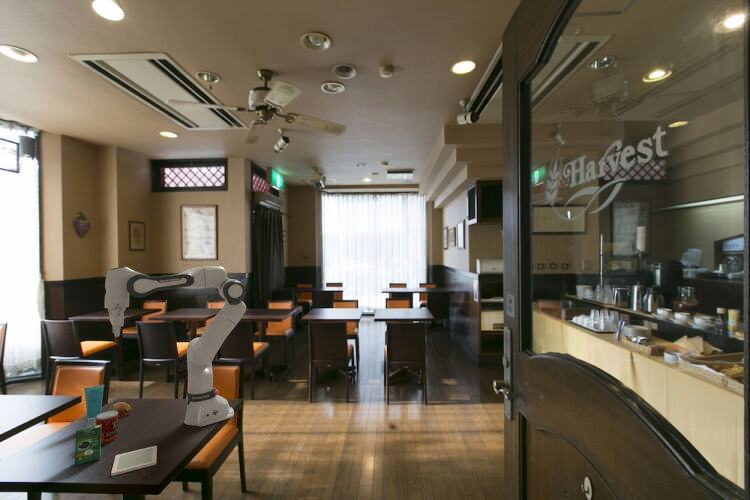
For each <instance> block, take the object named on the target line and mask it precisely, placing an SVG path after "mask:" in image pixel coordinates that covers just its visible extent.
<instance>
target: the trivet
mask: <svg viewBox="0 0 750 500" xmlns="http://www.w3.org/2000/svg"><path fill="white" fill-rule="evenodd" d="M157 451H158V446H157V445H153V446H148V447H145V448H140V449H136V450H133V451H128V452H124V453H120V454H116V455H115V457H114V460H113V465H112V469H111V472H110V476H111V477H114V476H117V475H122V474H125V473H129V472H132V471H136V470H140V469H144V468H148V467H152V466H156V465H157V459H158V458H157V456H158V454H157V453H158V452H157Z"/></svg>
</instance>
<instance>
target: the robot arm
mask: <svg viewBox="0 0 750 500" xmlns="http://www.w3.org/2000/svg"><path fill="white" fill-rule="evenodd" d="M104 283H105V284H104V288H105V291H106V292H105V295H104V308H105V309H107V312H108V316H109V322H110V324H111V325H112V333H113V334H114V337H116V338H117V337H120V336H121V334H120V333H121V327H124V323H125V322H124V320H125V316H124V315H125V311H126V308H129V306H130V296H133V297H135V298H145V297H147V296H149V295H151V294H153V293H156V292H160V291H166V290H167V291H168V290H172V289H187V290H200V289H202V290H203V289H208V288H209V289H210V288H215V289H216V291H217V294H218V296H219V297H221V298H222V299H223V300H225V301H224V305H223V306H222V308H221V309H220V310H219V311H218V312H217V313H216V315H215V316H214V317H213V318H212V319H211V321H210V322H209V323H208V324H207V326H206V328H205V329H204V331H203V332H202V334H201V335H200V337H195V338H193V339H192V340H190V341H189V343H188V344H187V347H186V363H187V365H186V366H187V380H188V381H187V392H186V405H187V406H186V412H185V413H186V414H185V418H184V420H183V423H184V424H185V425H188V426H196V427H204V426H207V425H208V426H209V425H211V424H214V423H218V422H221V421H224V420H228V419H230V418H233V417H234V415H235V411H234V409H233V407H231V406H230V404H229V402H228V400H227V399H226V398H225V397H222V396H221V395H219V394H220V391H219V390H218V389H217V388H216V387H215V386H214V385H213V383H214V379H213V378H214V374H213V373H214V372H213V364H212V362H213V360H214V359H215V356H216V354H217V353H218V351H219V350H220V348H221V346H222V345H223V343H224V341H225V340H226V339H227V337H228V336H229V335H230V334H231V332H232V331H233V330H234V328H235V327H236V326H237V324H239V322H240V321H241V319H242V318H243V316H244V314H245V313H246V310H247V305H246V304H245V302H244V297H245V293H246V288H245V285H244V284H243V282H241V281H240V280H237V279H233V278H229V277H228V273H227V270H226V269H225V268H224V267H223V266H219V265H204V266H195V267H191V268H188V269H185V270H184V271H182V272H180V273H176V274H169V275H161V276H150V275H148V274H144V273H142V272H138V271H135V270H134V269H131V268H129V267H128V266H119V267H113V268H110V269H109V270H108V271H107V272H106V275H105V282H104ZM213 386H214V387H213Z"/></svg>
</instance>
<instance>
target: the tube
mask: <svg viewBox="0 0 750 500" xmlns="http://www.w3.org/2000/svg"><path fill="white" fill-rule="evenodd" d="M104 389H105V384H100V385H94V386H86V387H83V390H84V391H83V392H84V397H85V408H86V423H87V426H86V427H91V426H96V416H97V415H99V414H101V413H102V407H103V406H102V405H103V395H104Z"/></svg>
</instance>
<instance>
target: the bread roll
mask: <svg viewBox="0 0 750 500" xmlns="http://www.w3.org/2000/svg"><path fill="white" fill-rule="evenodd" d="M132 410H133V408H132V407H131V405H129V404H128V403H126V402H125V401H119V402H116V403H114V404H112V405H111V406H109V407H108V409H107V410H106V412H107V411H117V412H118V419H120V418H124V417H126V416H129V415H130V413H131V412H132Z"/></svg>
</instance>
